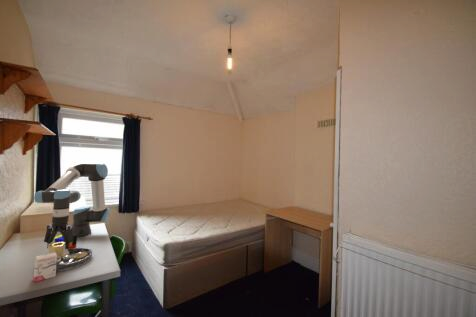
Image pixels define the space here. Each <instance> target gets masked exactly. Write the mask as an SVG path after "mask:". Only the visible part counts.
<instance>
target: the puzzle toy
mask: <svg viewBox="0 0 476 317" xmlns="http://www.w3.org/2000/svg"><path fill="white" fill-rule="evenodd" d="M77 238H78V237H77V235H74V234H73V242H70V243H69V248H68V249H71V248H77ZM53 242H54V243H58V242H64V239H63V236H62V234H60V235H56V236H55V237H54V239H53Z"/></svg>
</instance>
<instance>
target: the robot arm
mask: <svg viewBox="0 0 476 317" xmlns="http://www.w3.org/2000/svg"><path fill="white" fill-rule="evenodd" d="M108 174H109V171H108V167H107V165H106V164H105V163H101V162H81V163H79V162H78V163H77V164H74V165H72V166H70V167H69V168H68V169H66V170H65V172H64V174H62V176H60V177H59V178H58V179H57V180H56V181H55V182H53V183H52V184H51V185H50V186H49V187H48V188H46V189H45V190H39V191H36V192H35V193H34V195H33V196H34V197H33V199H34V202H35V203H37V204H53V206H52V216H51V223H52V224H48V225H46V232H45V236H44V239H43V242H44V243H47V244H46V245H47V247H46V248H47V254H48V253H49V245H51V244H53V243H54V242H53V239H54V237H56V236H57V235H58V234H57V233H58V232H59V233H60V235H62V236H63V239H64V242H65V244H63V255H66V254H68V248H69V243H70V242H73V234H74V235H77V238H82V237H83V238H84V237H87V236H89V235H91V234H92V229H91V225H90V223H104V222H107V221H108V220H109V217H110V215H111V214H110V213H111V209H110V208H109V207H108V205H107V204H105V203H106V202H105V201H106V200H105V198H106V197H105V186H104V181H105V179H106V178H107V176H108ZM80 178H88V179H87V180H88V181H89V182H90V186H91V198H92V206H82V207H78V208H75V209H73V214H72V216H73V217H72V225H69V224H68V222H69V217H70V216H69V215H70V205H71V204H72V203H76V202H78V201H80V199H81V196H82V195H81V193H80V191H78V190H70V189H67V188H68V187H69V186H70V185H71V184H72V183H73V182H74V181H75V180H78V179H80Z"/></svg>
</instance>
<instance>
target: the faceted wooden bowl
mask: <svg viewBox="0 0 476 317" xmlns="http://www.w3.org/2000/svg"><path fill="white" fill-rule="evenodd" d="M63 244H65V242H58V243H53V244H51V245H49V253H54V252H55V253H56V254H57V257H60V256H63ZM49 253H48V252H47V254H49Z"/></svg>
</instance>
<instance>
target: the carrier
mask: <svg viewBox="0 0 476 317" xmlns="http://www.w3.org/2000/svg"><path fill="white" fill-rule="evenodd" d="M92 258H93V251H92V249H90V248H88V247H76V248H71V249H68V254H66V255H63V256H60V257H57V264H56V273H58V272H66V271H70V270H73V269H77V268H79V267H82V266H83V265H86V264H87V263H89V262H91V260H92ZM85 263H86V264H85Z"/></svg>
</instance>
